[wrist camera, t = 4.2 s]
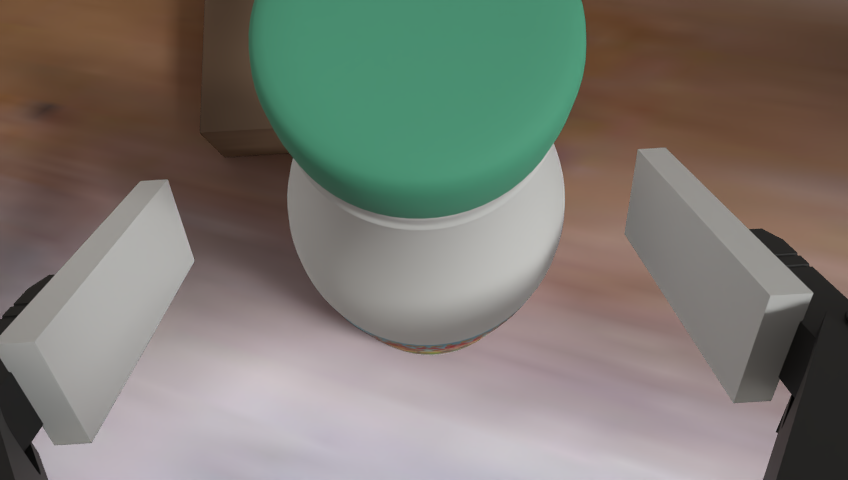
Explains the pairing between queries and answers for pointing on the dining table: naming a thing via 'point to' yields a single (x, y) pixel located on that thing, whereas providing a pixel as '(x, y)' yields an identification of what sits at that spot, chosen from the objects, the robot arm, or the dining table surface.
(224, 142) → the brown flat block
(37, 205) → the dining table surface
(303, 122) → the milk bottle
